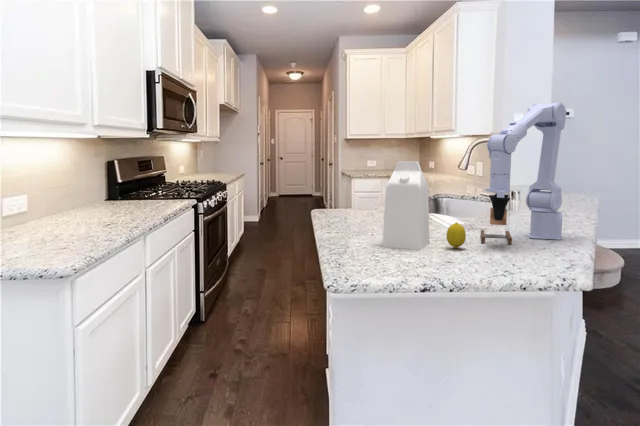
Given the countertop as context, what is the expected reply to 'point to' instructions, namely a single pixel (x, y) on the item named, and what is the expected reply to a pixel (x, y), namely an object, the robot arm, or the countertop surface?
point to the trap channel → (507, 236)
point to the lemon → (456, 235)
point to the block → (497, 222)
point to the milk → (406, 208)
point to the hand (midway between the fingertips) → (498, 219)
